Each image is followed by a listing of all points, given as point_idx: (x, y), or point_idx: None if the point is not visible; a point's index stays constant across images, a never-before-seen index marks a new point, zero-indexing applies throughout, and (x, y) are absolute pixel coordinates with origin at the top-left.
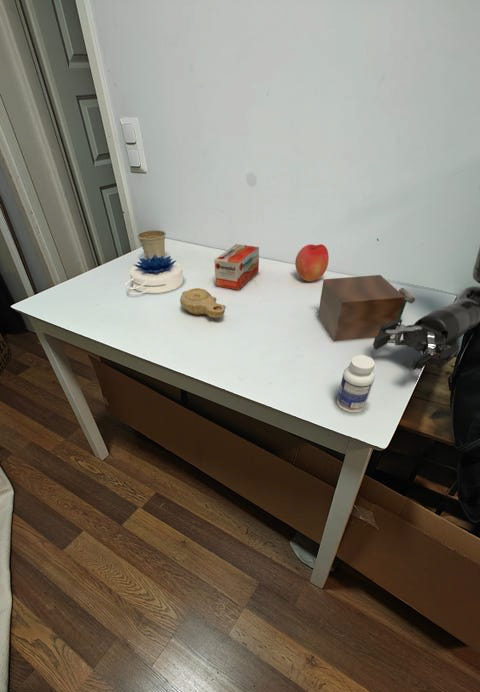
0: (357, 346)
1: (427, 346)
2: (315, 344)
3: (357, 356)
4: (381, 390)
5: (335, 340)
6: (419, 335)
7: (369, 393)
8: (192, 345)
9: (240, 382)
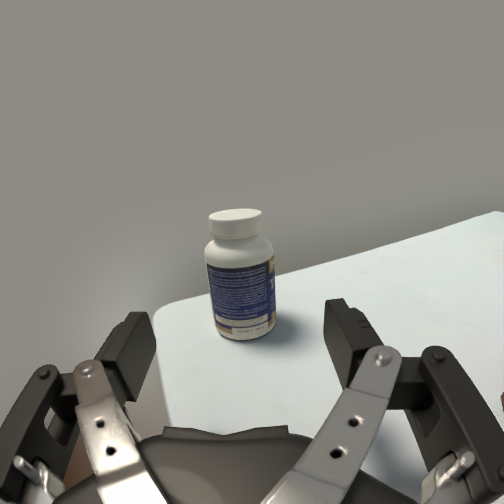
0: None
1: (119, 409)
2: (484, 355)
3: (256, 212)
4: (229, 392)
5: (502, 398)
6: (227, 488)
7: (211, 295)
8: (461, 246)
9: (376, 256)
